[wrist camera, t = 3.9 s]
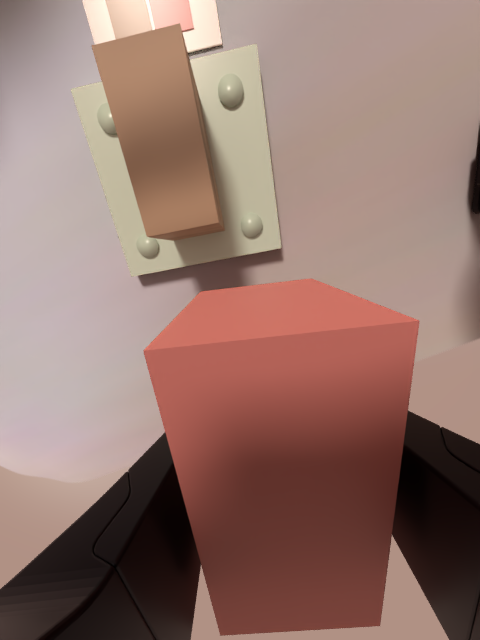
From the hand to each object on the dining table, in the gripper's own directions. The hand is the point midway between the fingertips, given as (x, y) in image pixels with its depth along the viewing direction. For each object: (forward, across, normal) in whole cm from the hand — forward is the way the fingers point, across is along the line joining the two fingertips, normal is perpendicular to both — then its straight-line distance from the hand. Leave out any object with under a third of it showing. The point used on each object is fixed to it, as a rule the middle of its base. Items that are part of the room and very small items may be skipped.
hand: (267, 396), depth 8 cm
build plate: (+12, +3, -11) cm, 16 cm away
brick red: (+1, 0, 0) cm, 1 cm away
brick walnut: (+11, +3, -11) cm, 16 cm away
